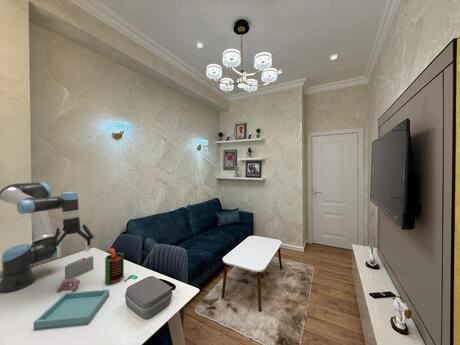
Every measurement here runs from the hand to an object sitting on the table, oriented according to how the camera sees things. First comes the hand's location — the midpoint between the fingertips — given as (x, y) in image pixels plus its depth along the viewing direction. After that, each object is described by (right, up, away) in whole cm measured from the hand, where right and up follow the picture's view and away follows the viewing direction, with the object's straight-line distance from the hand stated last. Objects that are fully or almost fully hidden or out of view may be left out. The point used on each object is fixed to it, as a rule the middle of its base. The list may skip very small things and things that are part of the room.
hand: (73, 254), depth 111 cm
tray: (+14, -22, -16) cm, 31 cm away
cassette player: (-10, -21, +17) cm, 29 cm away
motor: (+18, -21, +10) cm, 29 cm away
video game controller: (-3, -22, 0) cm, 22 cm away
